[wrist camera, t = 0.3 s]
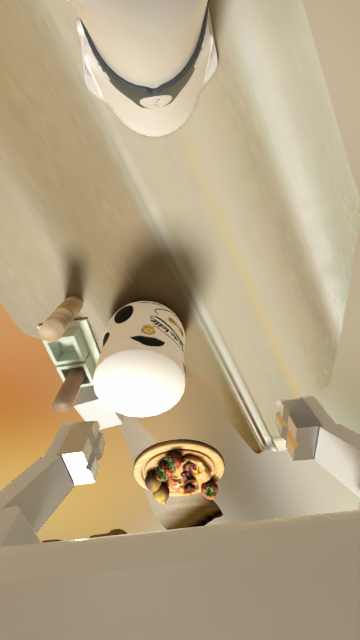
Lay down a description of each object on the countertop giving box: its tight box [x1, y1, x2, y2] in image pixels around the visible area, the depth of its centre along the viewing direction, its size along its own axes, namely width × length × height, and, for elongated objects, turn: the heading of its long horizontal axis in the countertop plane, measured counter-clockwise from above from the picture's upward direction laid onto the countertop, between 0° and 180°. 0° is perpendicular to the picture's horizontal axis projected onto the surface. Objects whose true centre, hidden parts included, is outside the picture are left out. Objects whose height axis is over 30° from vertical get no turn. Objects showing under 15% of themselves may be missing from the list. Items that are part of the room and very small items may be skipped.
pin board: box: [37, 319, 100, 412], centre depth 50 cm, size 16×11×13 cm
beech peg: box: [38, 296, 83, 342], centre depth 44 cm, size 4×4×12 cm
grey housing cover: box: [74, 385, 124, 430], centre depth 59 cm, size 10×8×7 cm
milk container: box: [93, 301, 186, 417], centre depth 46 cm, size 17×17×18 cm
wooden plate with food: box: [133, 439, 225, 504], centre depth 79 cm, size 32×32×8 cm
